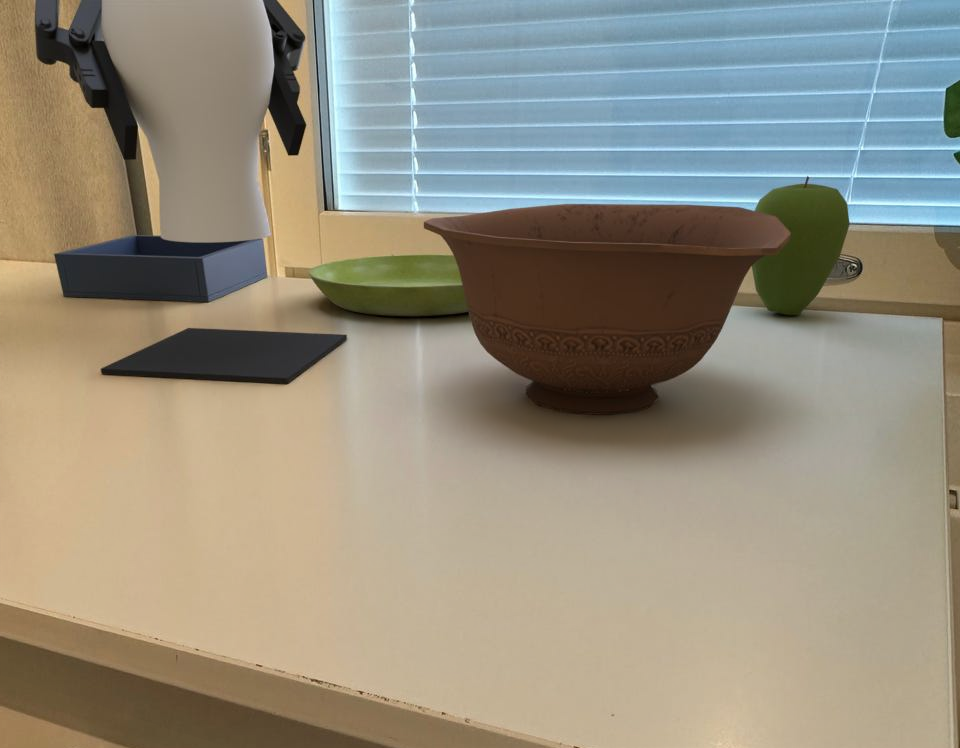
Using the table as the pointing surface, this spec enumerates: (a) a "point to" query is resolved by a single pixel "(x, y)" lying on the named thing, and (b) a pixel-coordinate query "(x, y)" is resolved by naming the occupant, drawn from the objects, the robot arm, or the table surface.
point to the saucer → (394, 285)
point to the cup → (198, 107)
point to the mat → (229, 355)
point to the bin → (160, 269)
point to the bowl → (604, 292)
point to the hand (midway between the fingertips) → (217, 141)
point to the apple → (801, 245)
